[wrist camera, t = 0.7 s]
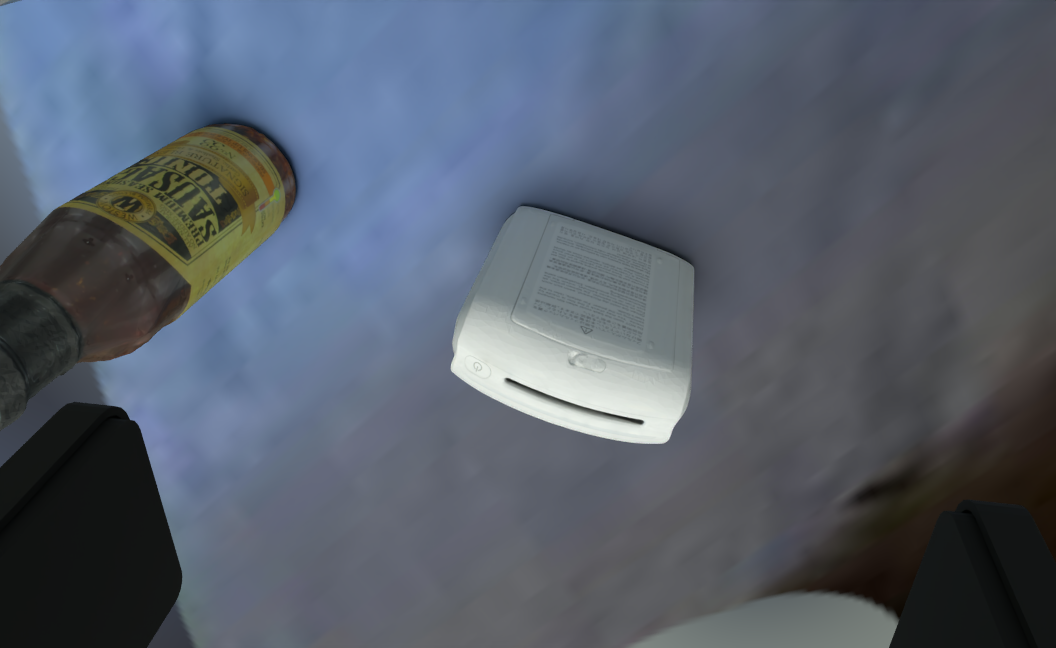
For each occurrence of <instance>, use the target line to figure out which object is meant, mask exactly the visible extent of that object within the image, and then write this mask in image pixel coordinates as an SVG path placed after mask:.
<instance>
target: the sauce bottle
mask: <svg viewBox="0 0 1056 648" xmlns="http://www.w3.org/2000/svg"><path fill="white" fill-rule="evenodd" d="M295 194H296V188H295V178H294V175H293V171H292V170H291V167H290V165H289V162H288V161H287V159H286V158H285V157H284V155H283V154H282V153H281V152H280V150H279V149H278V148H277V147H276V146H275V144H274V143H273V142H272V141H270V140H269V139H268V138H267V137H266V136H265V135H264V134H261V133H258V132H257V131H256V130H255V129H253V128H252V127H246V126H243V125H236V124H234V125H233V124H226V123H225V124H212V125H208V126H206V127H204V128H201V129H197V130H194V131H192V132H190V133H188V134H186V135H184V136H183V137H181V138H179V139H177V140H176V141H174V142H172V143H170V144H168V145H167V146H165V147H163V148H162V149H160V150H158V151H156V152H154V153H153V154H151V155H149V156H147V157H146V158H144V159H142V160H140V161H139V162H137V163H136V164H134V165H132V166H130V167H129V168H127V169H125V170H123V171H121V172H120V173H118V174H116V175H114V176H113V177H111V178H109V179H108V180H106V181H104V182H103V183H101V184H99V185H97V186H95V187H94V188H92V189H90V190H88V191H86V192H85V193H82V194H81V195H79V196H77V197H76V198H74V199H72V200H70V201H69V202H67V203H65V204H63V205H62V206H60V207H58V208H56V209H55V210H53V211H52V212H51V213H50V214H49V215H48V216H47V217H46V218H45V219H44V220H43V221H42V222H41V223H40V224H39V225H38V226H37V227H36V229H35V230H34V231H33V232H32V233H31V234H30V235H29V236H28V237H27V238H26V239H25V240H24V241H23V242H22V243H21V244H20V245H19V246H18V247H17V248H16V249H15V250H14V251H13V252H12V253H11V254H10V255H9V256H8V257H7V258H6V259H5V261H4V262H3V264H2V265H1V266H0V431H1V430H2V429H4V428H5V427H7V426H8V425H10V424H11V423H12V422H14V421H15V420H16V419H18V418H19V417H20V416H21V415H22V414H23V412H24V411H25V409H26V404H27V402H28V400H29V399H30V398H32V397H33V396H35V395H36V394H37V393H38V392H39V391H40V390H41V389H42V388H44V387H45V386H46V385H48V384H49V383H50V382H52V381H53V380H54V379H55V378H57V377H58V376H59V375H64V374H65V373H66V372H67V371H69V370H70V369H71V368H73V366H74V365H75V364H76V363H79V362H96V361H106V360H112V359H114V358H117V357H120V356H123V355H126V354H130V353H132V352H134V351H135V350H136V349H138V348H139V347H141V346H142V345H143V344H145V343H147V342H148V341H149V340H150V339H151V338H152V337H153V336H154V335H155V334H156V333H157V332H158V331H160V330H161V328H162V327H164V326H166V325H169V324H170V323H172V322H173V321H175V320H176V319H178V318H179V317H180V316H181V315H182V314H183V313H184V312H186V311H187V310H188V309H189V308H190V307H191V306H192V305H193V304H194V303H196V302H197V301H198V300H199V299H200V298H201V297H202V296H203V295H204V294H206V293H207V292H208V291H209V290H210V289H211V288H212V287H213V286H214V285H216V284H217V283H218V282H219V281H220V280H221V279H222V278H224V277H225V276H226V275H227V274H228V273H229V272H230V271H232V270H233V269H234V268H235V267H236V266H237V265H238V264H240V263H241V262H242V261H243V260H244V259H245V258H246V257H248V256H249V255H250V254H251V253H252V252H253V251H254V250H256V249H257V248H258V247H259V246H260V245H261V244H262V243H263V242H264V241H266V240H267V239H268V238H269V237H270V236H271V235H272V234H273V233H274V232H275V231H276V230H277V229H278V227H279V225H280V223H281V222H282V221H283V220H284V219H285V218H286V216H287V215H288V213H289V212H290V210H291V209H292V206H293V203H294V201H295Z"/></svg>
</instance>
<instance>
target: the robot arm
mask: <svg viewBox="0 0 1056 648" xmlns="http://www.w3.org/2000/svg"><path fill="white" fill-rule="evenodd" d="M181 584H182V571H181V567H180V563H179V560H178V557H177V553H176V550H175V546H174V543H173V540H172V536H171V533H170V529H169V526H168V522H167V519H166V516H165V512H164V509H163V505H162V502H161V499H160V495H159V492H158V488H157V485H156V481H155V478H154V475H153V471H152V468H151V464H150V461H149V457H148V454H147V451H146V447H145V444H144V440H143V437H142V434H141V430H140V428H139V426H138V424H137V423H136V422H135V421H132V420H130V419H129V417H128V415H127V413H126V412H125V411H124V410H123V409H122V408H120V407H116V406H107V405H98V404H88V403H80V402H73V403H69V404H67V405H65V406H64V407H62V408H61V409H60V410H59V411H58V412H57V413H56V414H55V415H54V416H53V417H52V418H51V419H50V420H48V421H47V422H46V423H45V424H44V425H43V426H42V427H41V428H40V429H39V430H38V431H37V432H36V433H35V434H34V435H33V436H32V437H31V438H30V439H29V440H28V441H27V442H26V443H25V444H24V445H23V446H22V447H21V448H20V449H19V450H18V451H17V452H16V453H15V454H14V455H13V456H12V457H11V458H10V459H9V460H7V461H6V463H4V464H3V466H1V468H0V648H147V647H148V645H149V643H150V642H151V640H152V639H153V637H154V635H155V634H156V632H157V631H158V629H159V627H160V626H161V624H162V623H163V621H164V619H165V618H166V616H167V615H168V613H169V612H170V610H171V608H172V607H173V605H174V604H175V602H176V600H177V598H178V595H179V592H180V589H181ZM889 648H1056V563H1055V561H1054V559H1053V557H1052V555H1051V553H1050V551H1049V549H1048V547H1047V545H1046V543H1045V541H1044V539H1043V537H1042V535H1041V534H1040V532H1039V530H1038V528H1037V526H1036V524H1035V522H1034V520H1033V518H1032V516H1031V515H1030V513H1029V512H1028V510H1027V509H1026V508H1024V507H1022V506H1021V505H1012V504H1003V503H994V502H985V501H975V500H963V501H962V502H961V503H960V504H959V505H958V507H957V509H956V511H955V512H952V511H943V512H942V513H941V514H940V516H939V518H938V520H937V522H936V525H935V528H934V530H933V533H932V536H931V538H930V541H929V544H928V546H927V549H926V551H925V554H924V557H923V559H922V562H921V565H920V567H919V570H918V573H917V575H916V578H915V580H914V583H913V586H912V588H911V591H910V594H909V596H908V599H907V602H906V604H905V607H904V610H903V612H902V615H901V617H900V620H899V623H898V625H897V628H896V631H895V633H894V636H893V639H892V641H891V644H890V647H889Z"/></svg>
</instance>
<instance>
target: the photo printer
mask: <svg viewBox="0 0 1056 648" xmlns="http://www.w3.org/2000/svg"><path fill="white" fill-rule="evenodd" d="M693 304H694V267H693V266H692V265H691V264H690V263H688V262H686V261H685V260H683V259H681V258H679V257H677V256H675V255H673V254H671V253H668V252H666V251H663V250H661V249H658V248H655V247H653V246H650V245H648V244H645V243H642V242H639V241H636V240H633V239H631V238H628V237H625V236H622V235H619V234H616V233H614V232H611V231H608V230H605V229H602V228H599V227H596V226H593V225H590V224H587V223H585V222H582V221H579V220H575V219H573V218H570V217H567V216H563V215H560V214H557V213H553V212H550V211H546V210H543V209H538V208H533V207H527V206H520V207H518V208H517V210H516V212H515V213H514V214H513V215H511V216H510V217H509V218H508V219H507V220H506V222H505V223H504V225H503V226H502V228H501V230H500V232H499V234H498V236H497V238H496V240H495V242H494V244H493V246H492V248H491V250H490V252H489V254H488V256H487V258H486V260H485V262H484V264H483V266H482V268H481V270H480V272H479V274H478V276H477V278H476V280H475V282H474V284H473V286H472V288H471V290H470V292H469V294H468V296H467V298H466V300H465V302H464V304H463V306H462V308H461V311H460V313H459V315H458V318H457V321H456V325H455V331H454V336H453V342H452V345H453V351H454V355H455V356H454V358H453V361H452V363H451V371H452V372H453V373H454V374H456V375H457V376H458V377H459V378H461V379H462V380H463V381H465V382H466V383H468V384H469V385H471V386H472V387H474V388H475V389H477V390H479V391H481V392H482V393H484V394H486V395H488V396H490V397H491V398H493V399H495V400H497V401H499V402H501V403H504V404H506V405H508V406H510V407H512V408H514V409H517V410H519V411H521V412H524V413H526V414H528V415H531V416H534V417H536V418H539V419H542V420H544V421H547V422H550V423H553V424H556V425H559V426H562V427H565V428H568V429H572V430H575V431H579V432H583V433H586V434H590V435H594V436H598V437H603V438H608V439H612V440H618V441H625V442H632V443H646V444H661V443H665V442H667V441H668V440H669V438H670V436H671V433H672V430H673V428H674V426H675V424H676V423H677V422H678V421H679V419H680V418H681V417H682V415H683V414H684V412H685V410H686V408H687V405H688V402H689V399H690V393H691V369H692V337H693Z"/></svg>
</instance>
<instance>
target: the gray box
mask: <svg viewBox="0 0 1056 648" xmlns="http://www.w3.org/2000/svg"><path fill="white" fill-rule="evenodd" d="M17 1H20V0H0V6H3V5H6V4H10V3H13V2H17Z"/></svg>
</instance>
